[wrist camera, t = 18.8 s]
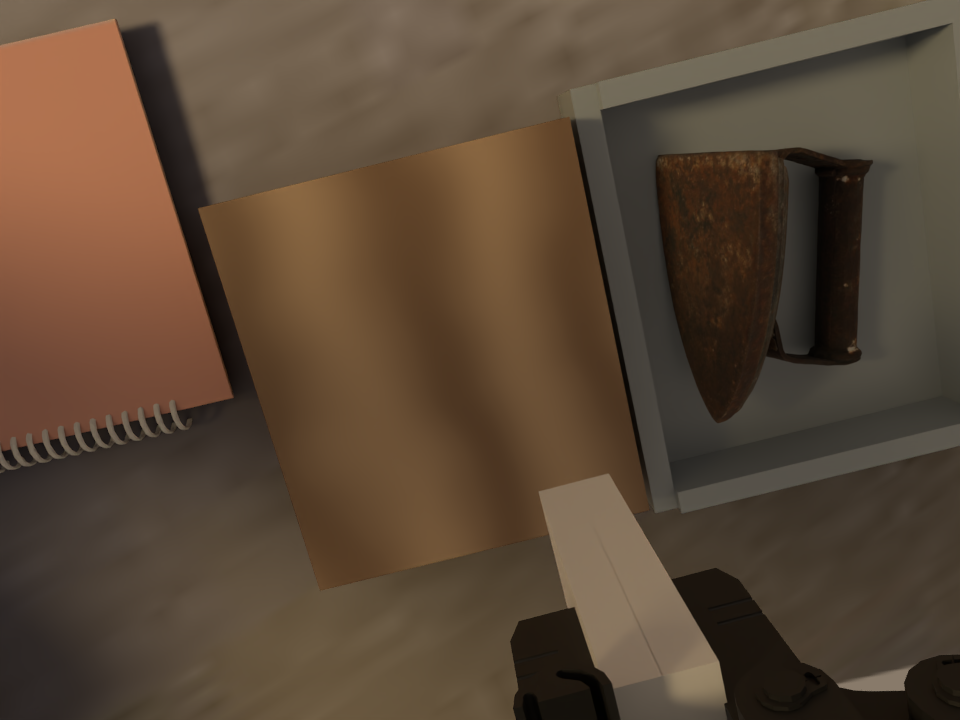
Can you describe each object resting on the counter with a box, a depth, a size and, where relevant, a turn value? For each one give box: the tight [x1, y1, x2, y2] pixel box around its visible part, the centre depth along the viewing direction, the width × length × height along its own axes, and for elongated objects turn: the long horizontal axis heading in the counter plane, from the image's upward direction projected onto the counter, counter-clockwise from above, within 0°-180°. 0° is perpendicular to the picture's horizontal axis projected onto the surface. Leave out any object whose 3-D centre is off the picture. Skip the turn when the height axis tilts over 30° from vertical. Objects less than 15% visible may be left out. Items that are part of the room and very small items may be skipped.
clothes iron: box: [656, 147, 873, 423], centre depth 34 cm, size 7×11×10 cm
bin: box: [557, 0, 960, 514], centre depth 35 cm, size 16×18×4 cm
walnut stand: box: [198, 117, 649, 591], centre depth 34 cm, size 14×16×5 cm
